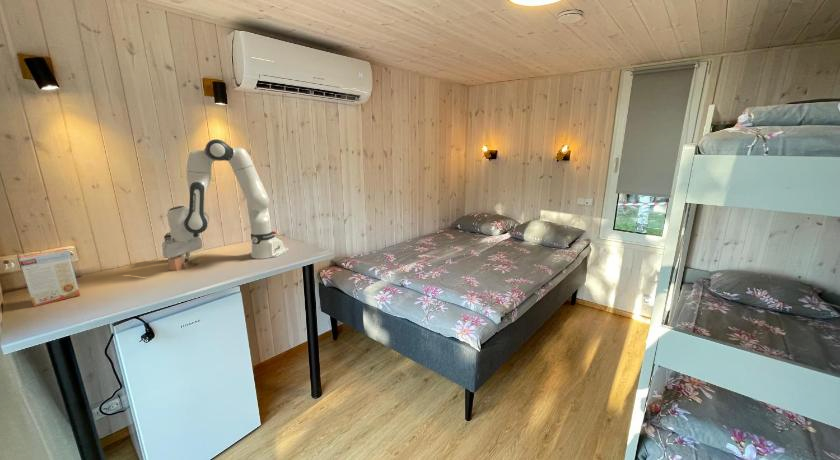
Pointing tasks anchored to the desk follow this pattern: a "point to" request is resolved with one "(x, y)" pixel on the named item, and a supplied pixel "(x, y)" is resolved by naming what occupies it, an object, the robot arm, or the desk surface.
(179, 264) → the block
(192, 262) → the chute
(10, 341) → the desk surface
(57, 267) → the cracker box
